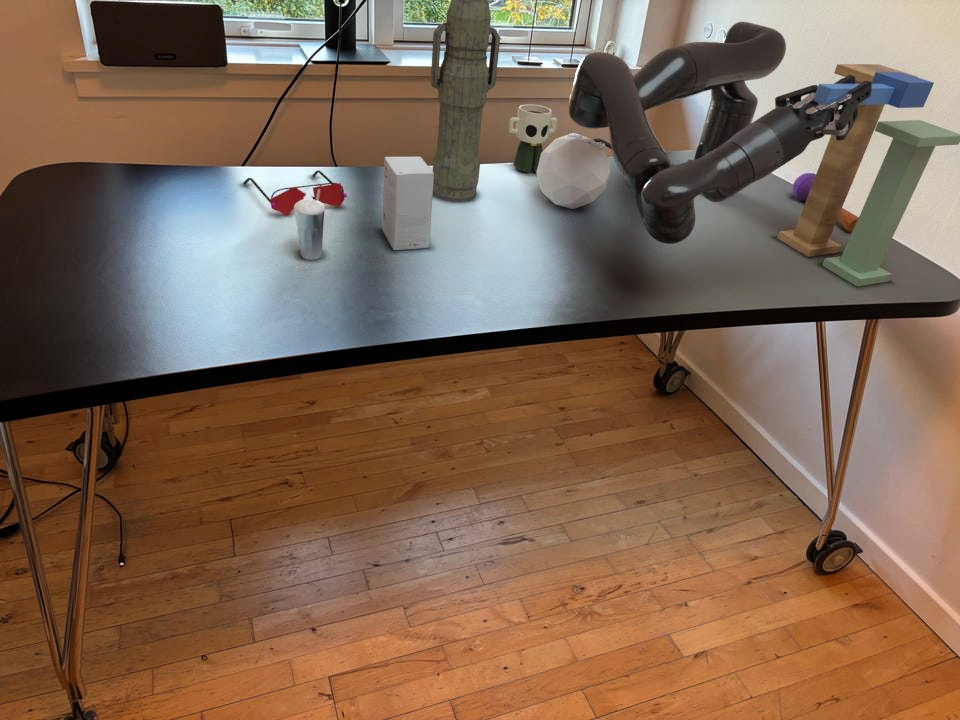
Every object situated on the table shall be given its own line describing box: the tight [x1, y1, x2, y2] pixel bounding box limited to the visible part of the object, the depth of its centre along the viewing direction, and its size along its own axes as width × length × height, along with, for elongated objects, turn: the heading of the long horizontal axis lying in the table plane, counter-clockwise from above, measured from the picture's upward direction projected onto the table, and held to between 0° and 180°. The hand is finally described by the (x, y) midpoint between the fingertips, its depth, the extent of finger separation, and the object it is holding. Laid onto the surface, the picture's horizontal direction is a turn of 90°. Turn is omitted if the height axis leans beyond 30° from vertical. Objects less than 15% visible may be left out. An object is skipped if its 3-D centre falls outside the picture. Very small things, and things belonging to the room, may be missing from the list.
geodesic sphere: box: [535, 132, 612, 210], centre depth 137 cm, size 15×14×14 cm
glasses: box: [242, 170, 348, 216], centre depth 129 cm, size 14×16×5 cm
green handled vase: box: [430, 0, 501, 203], centre depth 130 cm, size 9×12×35 cm
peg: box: [814, 71, 935, 109], centre depth 104 cm, size 18×6×4 cm, turn 114°
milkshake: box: [293, 189, 326, 261], centre depth 110 cm, size 4×5×10 cm
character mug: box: [508, 103, 558, 173], centre depth 151 cm, size 11×7×13 cm, turn 109°
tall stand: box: [776, 63, 919, 258], centre depth 126 cm, size 10×8×32 cm
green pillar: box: [822, 119, 960, 288], centre depth 120 cm, size 10×8×26 cm
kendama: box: [792, 172, 859, 234], centre depth 150 cm, size 6×6×20 cm
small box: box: [381, 156, 434, 251], centre depth 117 cm, size 8×6×13 cm
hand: (860, 83), depth 102 cm, fingers closed on peg, 2 cm apart
